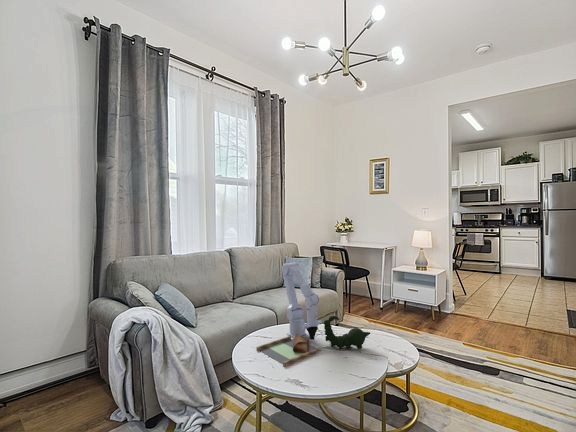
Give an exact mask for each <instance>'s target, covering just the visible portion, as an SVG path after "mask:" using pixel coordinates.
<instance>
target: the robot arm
mask: <svg viewBox="0 0 576 432" xmlns="http://www.w3.org/2000/svg"><path fill="white" fill-rule="evenodd" d="M281 272H282V273H281V274H282V277H283V281H284V286H285V291H286V295H287V301H288V304H289V305H288V307H287V308H286V318H287V320H288V321H289V332H287V333H286V335H287V336H291V338H292V337H293V339H294V338H295V335H296V334H298V335H300V336H302V337H303V336H305V335H307V333H308V336H309V340H311V341H313V340H315V337H316V333H317V331H318V330H319V327H318V326H319V325H322V324H323V321H322V320H321V319H319V320H318V306H317V305H318V304H319V302H320V297H319V296H318V294H316V293H315V292H313V290H312V288H311V286H310V284H309V283H306V281H305V279H304V277H303V274H302V272H301V266H300V264H299V262H297V261H294V262H288V263H287V262H286V263H283V264H282V266H281ZM294 278H295V280H296V281H297V283H298V284H299V287H300V288H299V289H300V291H301V293H302V295H303V297H304V303H305V307H306V322H305V320H304V317H305V311H304V309H303V306H302V305H301V304H299V302H298V297H297V293H296V290H295V289H296V288H295V284H294V280H293V279H294ZM306 331H307V333H306Z"/></svg>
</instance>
